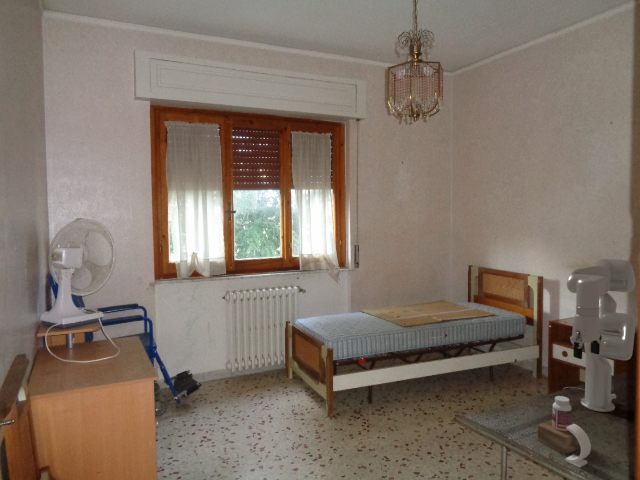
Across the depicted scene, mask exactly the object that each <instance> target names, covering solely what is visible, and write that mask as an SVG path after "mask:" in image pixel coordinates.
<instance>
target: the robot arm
mask: <svg viewBox="0 0 640 480" xmlns="http://www.w3.org/2000/svg"><path fill="white" fill-rule="evenodd" d="M636 285H637V284H636V276H635V272H634V267H633V265H632V264H631V262H630V261H629V260H626V259H614V258H602V259H601V258H600V259H596V260H595V261H594V262H593V264H592V265H591V266H586V267H583V268H576V269H574V270H573V271H571V273H570V274H569V276H568V277H567V279H566V287H567V289H568V291H569V292H570V293H573V294H576V297H575V298H576V299H575V300H576V301H575V302H576V303H575V304H576V306H575V315H574V318H573V323H572V330H571V332H572V333H571V336H570V337H569V340H570V344H571V345H572V347H573V353H572V354H573V355H572V356H573V357H574V358H576V359H579V360H582V359H583V348H582V347H583V346H584V352H585V353H584V354H585V379H584V380H585V384H584V386H585V387H584V388H585V389H584V397H582V398H581V399H580V404H581V405H582V406H583V407H584V408H587V409H588V410H591V411H596V412H601V413H602V412H603V413H605V412H606V413H608V412H609V413H610V412H613V411H615V409H616V405H615V404H614V403H613V402H612V401H613V400H614V399H616V398H617V395H616V394H615V393H612V371H613V370H612V369H613V368H612V365H611V363H610V361H609V360H608V358H609V359H614V360H620V361H629V360H630V359H631V358H632V356H633V352H634V351H633V350H634V343H635V341H634V340H635V333H636V322H635V318H634V317H633V315H631V314H629V313H625V312H624V313H622V312H616V311H617V306H618V305H617V301H616V300H615V299H614V297H613V296H612V295H611V294H610V293H609V292H618V293H631V292H633V291H635V287H636Z"/></svg>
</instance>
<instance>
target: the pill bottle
mask: <svg viewBox="0 0 640 480" xmlns="http://www.w3.org/2000/svg"><path fill="white" fill-rule="evenodd" d="M551 417H552V420H551V421H552V425H553V427H554V428H555V429H557V430H560V431H568V430H566V427H568V426H570V425H572V406H571V404H570V398H569V397H566V396H563V395H557V396H554V402H553V403H552V416H551Z"/></svg>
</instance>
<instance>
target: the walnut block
mask: <svg viewBox="0 0 640 480" xmlns="http://www.w3.org/2000/svg"><path fill="white" fill-rule="evenodd" d="M583 431H584V432H585V433H586V430H585V429H583ZM586 434H587V433H586ZM537 441H538V442H540V443H541V444H544V445H545V446H547V447H550V448H551V449H553V450H554V451H556V452H557V453H558V452H559V453H560V454H562V455H567V454H569V453H573V452H575V451H578V450H581V448H580V444H579V442H578V440H577V438H576V437H575V436H574V435H573V434H572V433H571V432H570V431H560V430H557V429H555V428H554V427H553V425H552V420H549V421H545V422H543V423H540V424H538V425H537Z"/></svg>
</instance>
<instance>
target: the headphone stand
mask: <svg viewBox="0 0 640 480" xmlns="http://www.w3.org/2000/svg"><path fill="white" fill-rule="evenodd" d="M566 430H568V431H570V432H571V433H572V434H573V435H574V436H575V437H576V438H577V440H578V442H579V444H580V448H581V449H580V454H579V455H576V454H571V455H569V456H568V457H566V458H565V459H564V461H565V462H567V463H569V464H571V465H573V466H575V467H577V468H582V467H583V466H585V465H588V460H586V459H585V458H587V457H588V456H589V455H590V453H591V451H592V445H591V441H590V437H589V436H588V434H587V433H585V432H584V431H585V430H584V429H583V428H581V427H580V426H579V425H577V424H575V423H571V425H570V426H568V427H566ZM583 430H584V431H583Z"/></svg>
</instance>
